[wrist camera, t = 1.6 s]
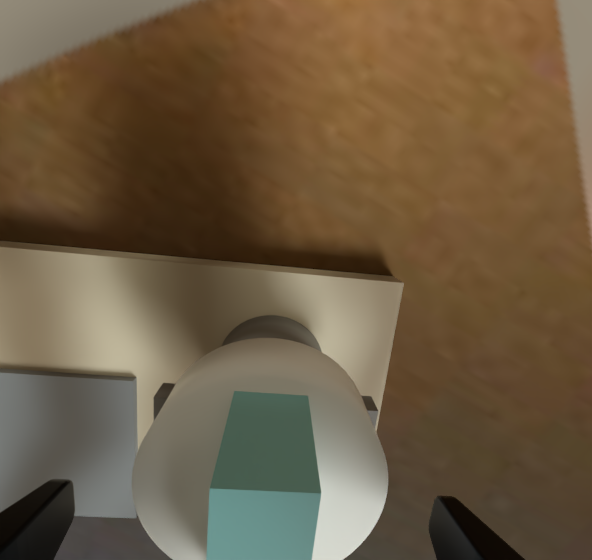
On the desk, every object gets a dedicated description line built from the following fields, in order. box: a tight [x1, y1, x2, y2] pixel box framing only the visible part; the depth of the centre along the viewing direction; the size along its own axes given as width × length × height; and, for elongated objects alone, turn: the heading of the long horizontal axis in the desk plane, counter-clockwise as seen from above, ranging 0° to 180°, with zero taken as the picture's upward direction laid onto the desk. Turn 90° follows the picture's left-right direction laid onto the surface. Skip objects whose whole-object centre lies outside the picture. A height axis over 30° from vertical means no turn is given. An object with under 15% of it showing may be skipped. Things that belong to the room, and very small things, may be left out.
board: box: [0, 241, 404, 518], centre depth 12 cm, size 18×12×5 cm, turn 84°
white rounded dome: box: [131, 338, 388, 560], centre depth 7 cm, size 6×6×4 cm
